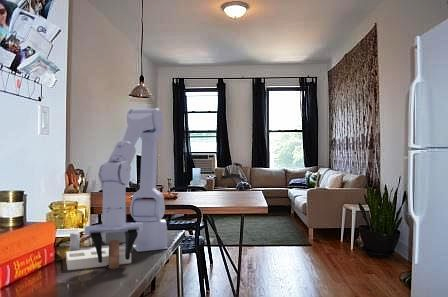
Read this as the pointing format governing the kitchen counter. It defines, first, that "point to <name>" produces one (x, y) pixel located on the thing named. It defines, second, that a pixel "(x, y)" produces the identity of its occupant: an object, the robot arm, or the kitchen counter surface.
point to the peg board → (92, 258)
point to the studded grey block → (78, 243)
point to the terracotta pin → (113, 254)
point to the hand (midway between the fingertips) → (113, 260)
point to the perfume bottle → (113, 233)
